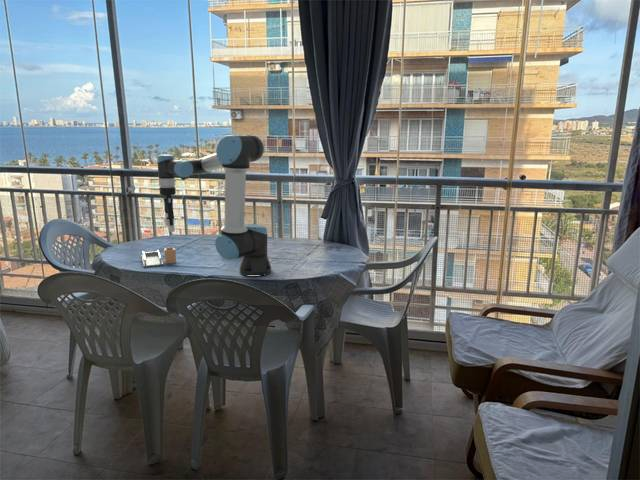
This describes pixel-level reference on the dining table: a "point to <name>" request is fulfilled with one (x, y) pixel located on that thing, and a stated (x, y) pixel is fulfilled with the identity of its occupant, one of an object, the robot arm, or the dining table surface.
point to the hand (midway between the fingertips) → (170, 228)
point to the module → (170, 255)
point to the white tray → (152, 259)
